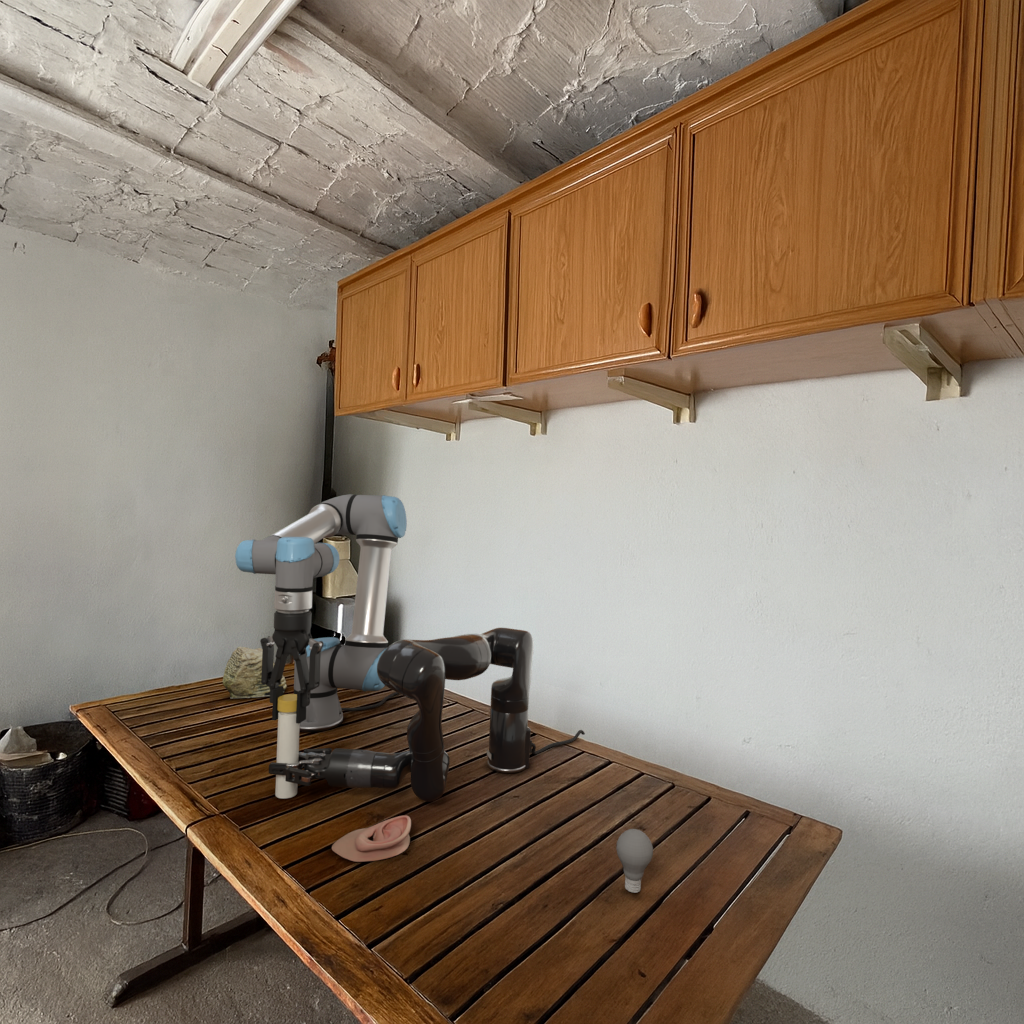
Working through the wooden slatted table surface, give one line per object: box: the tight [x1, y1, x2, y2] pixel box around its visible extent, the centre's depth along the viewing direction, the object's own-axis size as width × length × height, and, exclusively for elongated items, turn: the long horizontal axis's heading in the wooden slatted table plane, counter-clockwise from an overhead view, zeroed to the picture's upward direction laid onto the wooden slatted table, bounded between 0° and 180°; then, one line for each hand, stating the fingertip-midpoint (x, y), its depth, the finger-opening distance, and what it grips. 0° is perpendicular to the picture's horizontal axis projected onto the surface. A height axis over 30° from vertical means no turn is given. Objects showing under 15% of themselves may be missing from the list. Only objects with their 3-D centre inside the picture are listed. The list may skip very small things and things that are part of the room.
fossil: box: [222, 646, 288, 699], centre depth 198 cm, size 9×18×15 cm, turn 132°
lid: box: [277, 693, 297, 713], centre depth 134 cm, size 5×5×2 cm
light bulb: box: [615, 828, 654, 894], centre depth 106 cm, size 6×6×10 cm
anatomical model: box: [331, 814, 412, 863], centre depth 116 cm, size 13×4×12 cm
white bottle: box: [274, 711, 301, 800], centre depth 134 cm, size 4×4×20 cm
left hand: (289, 719), depth 134 cm, fingers closed on lid, 5 cm apart
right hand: (274, 763), depth 134 cm, fingers closed on white bottle, 4 cm apart
